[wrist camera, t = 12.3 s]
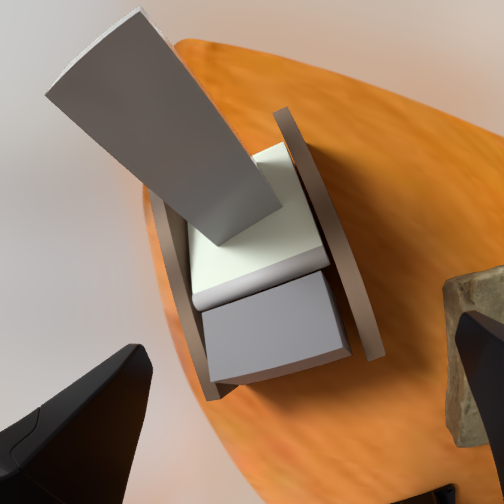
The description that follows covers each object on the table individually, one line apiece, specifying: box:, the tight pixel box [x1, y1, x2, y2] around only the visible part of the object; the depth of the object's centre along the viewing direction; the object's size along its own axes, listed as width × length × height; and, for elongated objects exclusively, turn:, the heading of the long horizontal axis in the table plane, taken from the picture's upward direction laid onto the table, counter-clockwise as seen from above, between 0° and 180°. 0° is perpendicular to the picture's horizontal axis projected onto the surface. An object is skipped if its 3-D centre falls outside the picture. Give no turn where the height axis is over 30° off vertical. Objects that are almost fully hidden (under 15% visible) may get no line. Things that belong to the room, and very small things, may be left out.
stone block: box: [443, 265, 504, 448], centre depth 13 cm, size 6×12×5 cm, turn 9°
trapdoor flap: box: [188, 142, 352, 385], centre depth 19 cm, size 14×8×4 cm, turn 19°
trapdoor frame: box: [148, 107, 386, 401], centre depth 19 cm, size 15×11×5 cm
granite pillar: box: [45, 6, 283, 247], centre depth 14 cm, size 5×5×13 cm
